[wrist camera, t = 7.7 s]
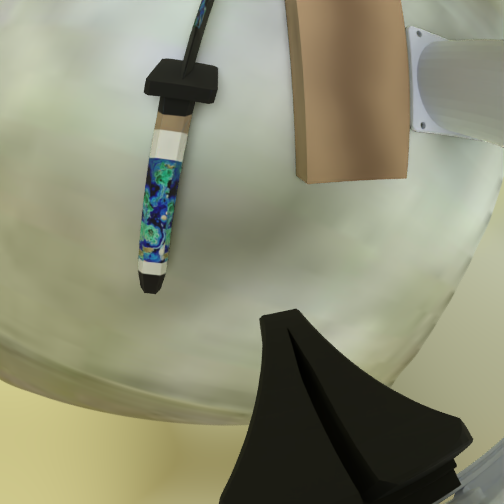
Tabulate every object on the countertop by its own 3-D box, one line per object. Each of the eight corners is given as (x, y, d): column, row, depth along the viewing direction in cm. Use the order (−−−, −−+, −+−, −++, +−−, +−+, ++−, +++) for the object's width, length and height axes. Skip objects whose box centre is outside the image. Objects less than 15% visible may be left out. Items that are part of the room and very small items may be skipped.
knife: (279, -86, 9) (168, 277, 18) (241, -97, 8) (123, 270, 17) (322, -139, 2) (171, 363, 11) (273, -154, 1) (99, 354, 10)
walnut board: (366, -70, 8) (379, -80, 6) (389, 170, 18) (406, 178, 16) (271, -89, 7) (279, -103, 6) (296, 175, 17) (307, 184, 16)
